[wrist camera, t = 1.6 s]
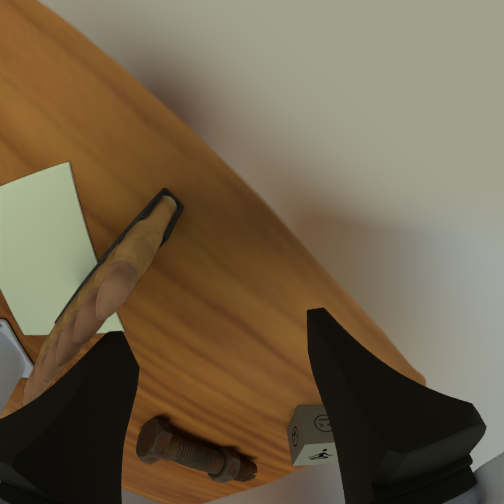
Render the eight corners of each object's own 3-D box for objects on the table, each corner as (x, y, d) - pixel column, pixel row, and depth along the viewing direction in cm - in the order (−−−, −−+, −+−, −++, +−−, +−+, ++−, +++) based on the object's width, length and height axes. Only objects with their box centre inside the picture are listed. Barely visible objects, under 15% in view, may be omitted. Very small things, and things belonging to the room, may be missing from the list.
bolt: (244, 450, 36) (147, 412, 31) (269, 455, 33) (164, 416, 27) (232, 487, 33) (130, 455, 27) (256, 495, 29) (145, 465, 24)
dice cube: (286, 429, 31) (292, 465, 27) (297, 404, 29) (305, 444, 24) (327, 427, 32) (336, 461, 27) (341, 403, 30) (353, 440, 25)
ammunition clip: (164, 186, 19) (91, 281, 8) (185, 206, 20) (138, 320, 9) (79, 286, 21) (7, 401, 11) (96, 301, 22) (35, 422, 11)
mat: (25, 333, 24) (24, 335, 23) (-30, 199, 18) (-32, 200, 17) (124, 330, 24) (124, 331, 23) (69, 161, 18) (68, 161, 17)
